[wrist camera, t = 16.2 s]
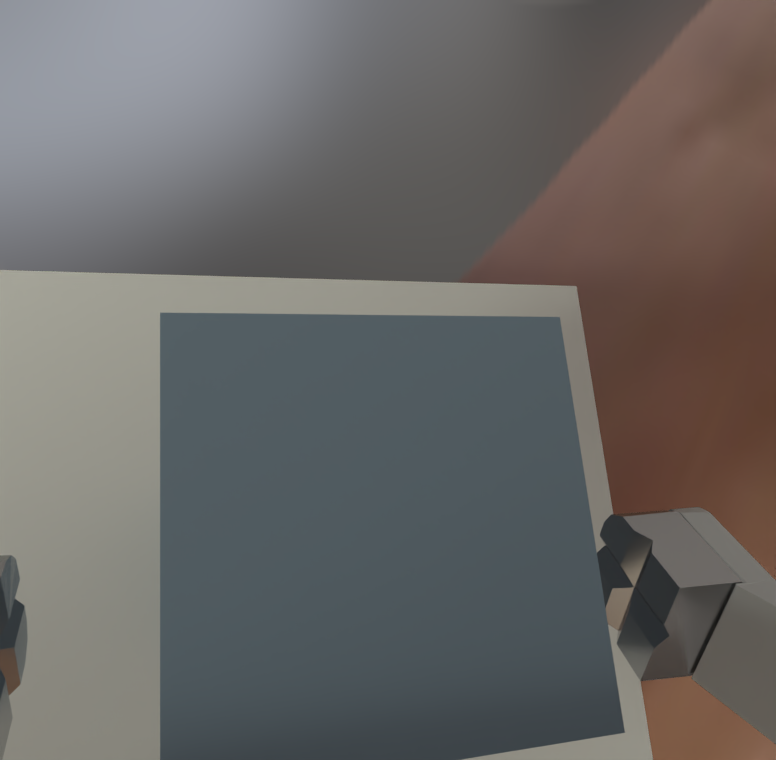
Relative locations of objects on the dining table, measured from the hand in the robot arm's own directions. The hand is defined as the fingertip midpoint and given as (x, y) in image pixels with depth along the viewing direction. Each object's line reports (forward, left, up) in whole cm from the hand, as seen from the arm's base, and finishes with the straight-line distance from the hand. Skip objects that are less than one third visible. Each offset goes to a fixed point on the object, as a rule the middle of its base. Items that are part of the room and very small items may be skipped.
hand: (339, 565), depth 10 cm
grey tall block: (0, 0, -9) cm, 9 cm away
